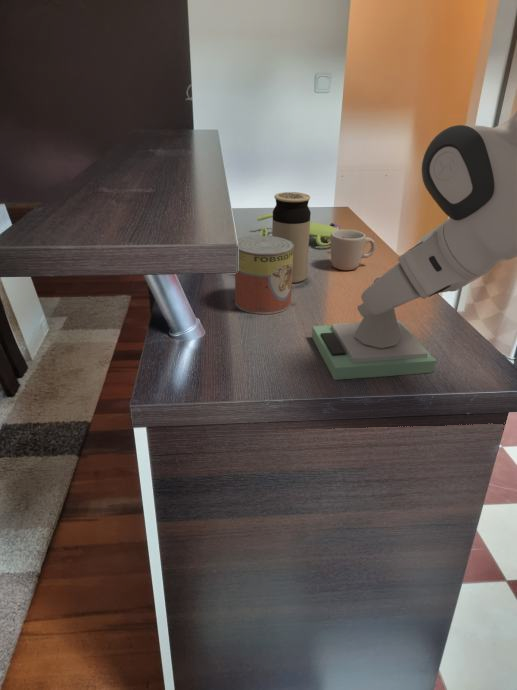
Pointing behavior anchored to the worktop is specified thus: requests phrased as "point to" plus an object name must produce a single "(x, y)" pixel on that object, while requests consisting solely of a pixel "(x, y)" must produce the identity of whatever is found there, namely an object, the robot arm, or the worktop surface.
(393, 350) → the scale
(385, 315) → the flask
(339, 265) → the cup
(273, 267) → the canned food
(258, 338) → the worktop surface
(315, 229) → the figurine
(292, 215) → the travel mug
